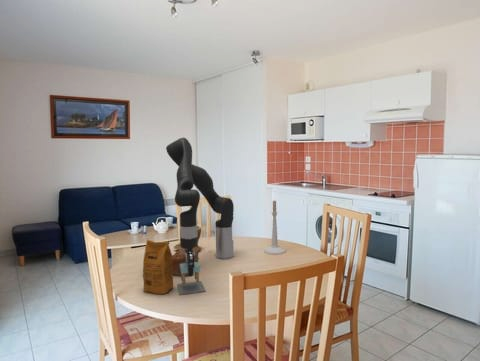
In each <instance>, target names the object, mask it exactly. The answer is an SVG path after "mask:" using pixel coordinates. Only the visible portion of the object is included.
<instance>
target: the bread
mask: <svg viewBox="0 0 480 361" xmlns="http://www.w3.org/2000/svg"><path fill="white" fill-rule="evenodd" d="M184 250H185V248H183V249H181V250H177V251H176V252H175V253H173V254H172V257H173V261H172V263H173V277H174V276H175V277H178V276H179V277H181V271H180V264H183V263H187V262H185V254H184ZM193 251H194V262H198V263H199V251H198V250H197V249H194V248H193ZM185 277H189V276H188V273H185Z"/></svg>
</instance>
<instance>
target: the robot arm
mask: <svg viewBox="0 0 480 361" xmlns="http://www.w3.org/2000/svg"><path fill="white" fill-rule="evenodd" d="M165 149H166V153H167V155H168V156H169V158H171V160H172V161H173V162H174V163H175V164H176V165H177V166H178V168H177V170H176V183H177V184H176V185H177V186H176V191H175V195H174V203H175V205H176V206H178V207H190V209H188V210H185V211H182V212H180V214H179V244H180V246H181V247H182V248H185V250H184V254H185V262H187V263H188V276H187V277H193V276H195V272H194V273H193V268H194V267H195V265H194V251H193V248H194V247H197V245H198V246H199V241H198V237H197V226H198V225H197V214H198V208H199V203H200V202H201V201H200V200H201V195H202V196H203V197H204V199H205V200H206V201H207V203H208V205H209V206H210V207H211V209H212V211H213V212H214V213H216V214H220V219H217V220H216V221H215V226H214V227H215V256H216V258H217V259H221V260H222V259H223V260H224V259H225V260H226V259H230V258H234V256H235V252H234V250H235V249H234V240H233V222H234V211H235V210H234V208H235V206H234V202H233V200H232V198H230V197H223V196H220V195H219V194H218V193H217V192H216V190H215V188H214V181H213V178H212V177H211V176H210V174H209V173H208V172H207V170H206V169H205V168H202V167H200V166H199V165H198V166H197V165H196V164H193V148H192V145H191V143H190V141H189V139H187V138H186V137H181V138H178V139H177V140H174V141H172V142H171V143H169V144H168V145H167V146H166V148H165ZM193 187H195V188H196V189H195V188H194V189H193ZM190 263H192V265H190Z"/></svg>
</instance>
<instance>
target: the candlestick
mask: <svg viewBox="0 0 480 361" xmlns="http://www.w3.org/2000/svg"><path fill="white" fill-rule="evenodd" d="M278 213H279V212H278V211H277V200H272V211H271V214H272V228H271V229H272V231H271V232H272V234H271V245H268V246H266V247H264V249H263V253H265V254H268V255H274V256H276V255H283V254H285V253H286V252H287V250H286V248H285V247H284V246H280V245H279V243H278V242H279V241H278V240H279V239H278V227H277V224H278V223H277V216H278Z"/></svg>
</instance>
